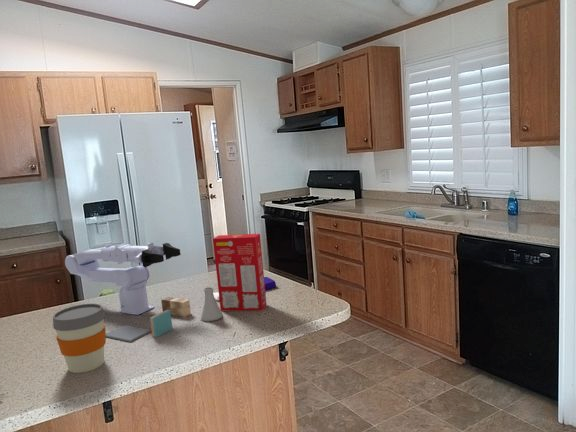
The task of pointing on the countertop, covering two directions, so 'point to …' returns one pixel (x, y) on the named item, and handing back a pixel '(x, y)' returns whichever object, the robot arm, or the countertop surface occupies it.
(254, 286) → the food packaging
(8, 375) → the countertop surface
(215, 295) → the spray bottle
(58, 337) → the reusable coffee cup
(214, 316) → the flask
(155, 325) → the tile
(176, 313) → the tall tan prism
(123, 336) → the plate
